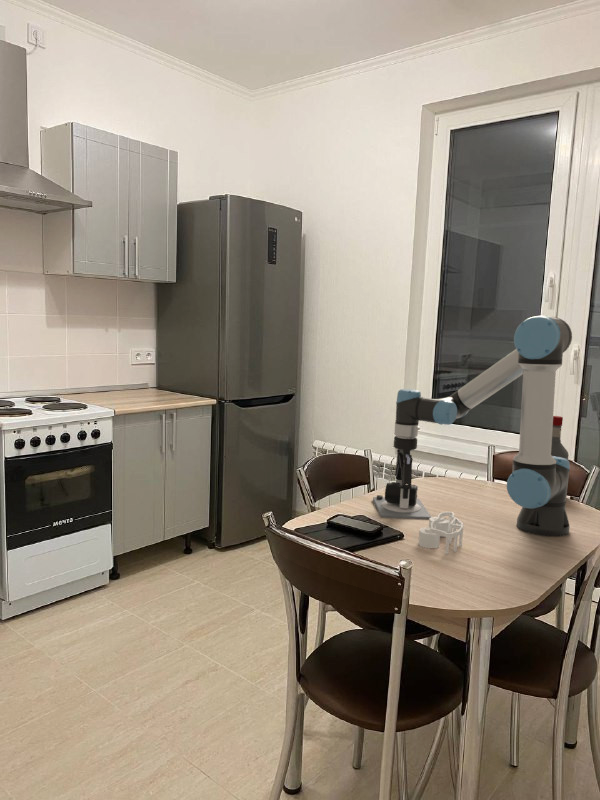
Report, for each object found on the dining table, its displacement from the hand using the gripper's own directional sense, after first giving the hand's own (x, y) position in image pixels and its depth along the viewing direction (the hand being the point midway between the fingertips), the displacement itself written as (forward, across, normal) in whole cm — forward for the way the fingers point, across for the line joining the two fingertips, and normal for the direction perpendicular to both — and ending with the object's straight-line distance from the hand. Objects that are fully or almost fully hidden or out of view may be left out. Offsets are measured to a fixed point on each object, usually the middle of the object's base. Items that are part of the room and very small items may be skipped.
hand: (401, 503), depth 207 cm
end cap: (+1, 0, 0) cm, 1 cm away
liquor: (+3, +26, -61) cm, 66 cm away
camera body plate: (+3, 0, 0) cm, 3 cm away
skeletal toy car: (+3, -31, -6) cm, 32 cm away
